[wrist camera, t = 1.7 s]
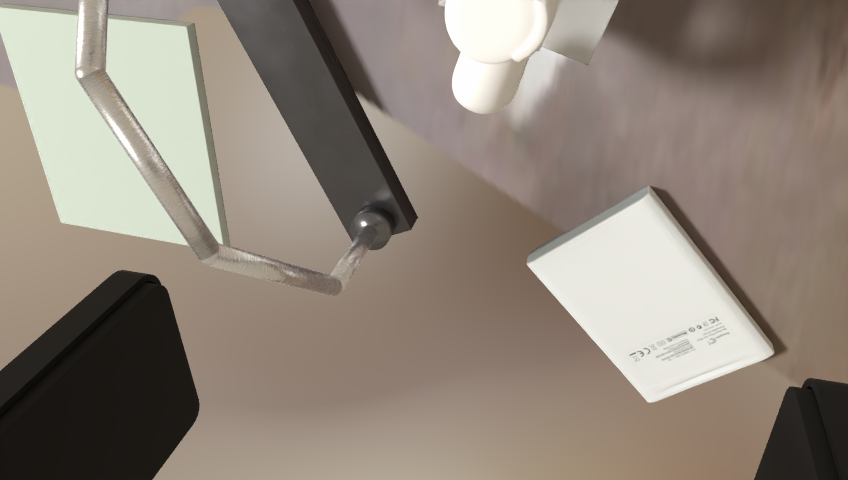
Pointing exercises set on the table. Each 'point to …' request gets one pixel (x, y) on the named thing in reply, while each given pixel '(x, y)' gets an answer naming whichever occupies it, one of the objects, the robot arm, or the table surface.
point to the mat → (91, 136)
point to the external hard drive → (650, 298)
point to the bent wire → (307, 120)
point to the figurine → (516, 42)
